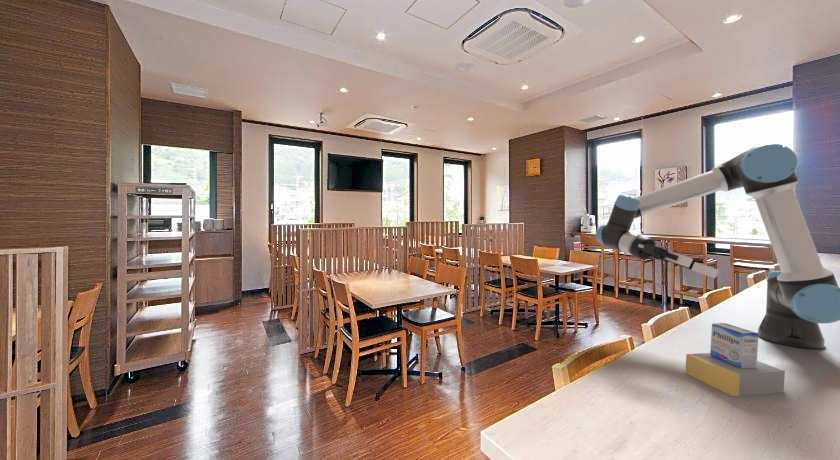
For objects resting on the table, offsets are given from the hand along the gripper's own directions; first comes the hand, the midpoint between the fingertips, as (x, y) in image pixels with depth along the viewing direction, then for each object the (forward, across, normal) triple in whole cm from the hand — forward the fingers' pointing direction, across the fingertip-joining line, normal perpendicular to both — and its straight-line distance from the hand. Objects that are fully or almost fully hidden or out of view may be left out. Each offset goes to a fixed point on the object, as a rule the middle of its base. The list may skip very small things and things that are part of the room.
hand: (704, 268), depth 100 cm
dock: (+18, +1, -24) cm, 30 cm away
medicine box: (+16, +2, -20) cm, 26 cm away
